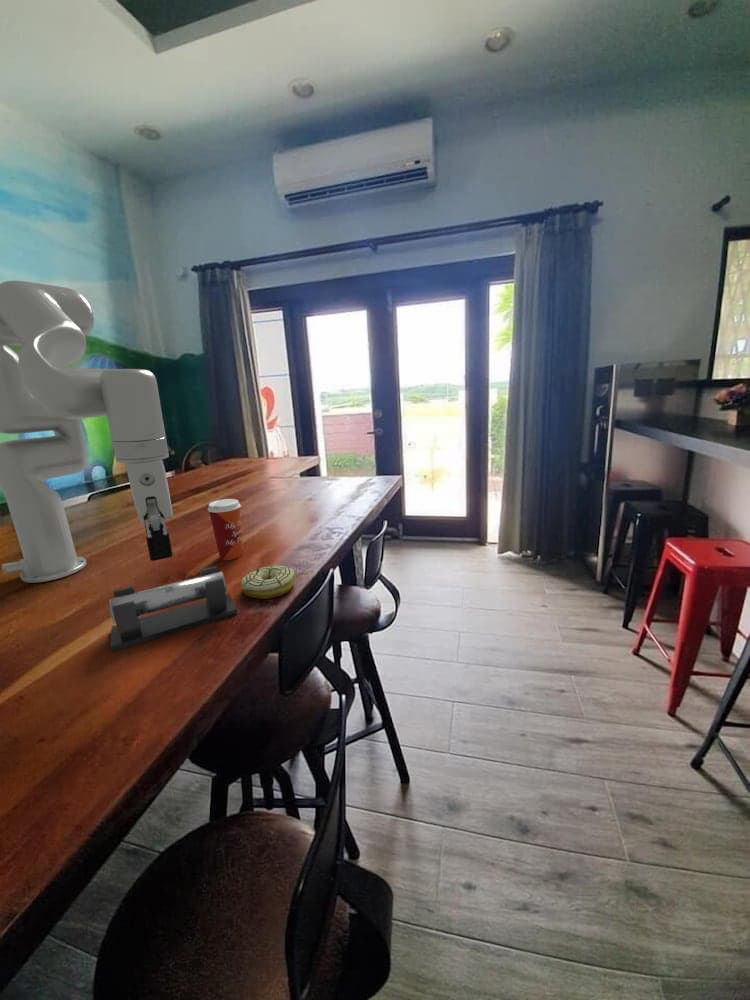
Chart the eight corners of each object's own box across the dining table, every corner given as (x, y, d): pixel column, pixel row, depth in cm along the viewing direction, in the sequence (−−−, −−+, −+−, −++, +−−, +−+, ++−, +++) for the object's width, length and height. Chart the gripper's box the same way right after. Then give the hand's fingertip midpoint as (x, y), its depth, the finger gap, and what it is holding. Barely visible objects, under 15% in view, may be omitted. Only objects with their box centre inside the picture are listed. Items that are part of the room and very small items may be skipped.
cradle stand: (111, 652, 66) (101, 611, 64) (113, 631, 72) (103, 593, 70) (237, 614, 75) (231, 577, 73) (229, 598, 81) (224, 564, 79)
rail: (114, 627, 67) (108, 606, 65) (114, 615, 70) (109, 595, 69) (227, 595, 75) (224, 576, 74) (223, 586, 79) (220, 567, 77)
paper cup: (237, 562, 98) (229, 507, 94) (209, 561, 100) (199, 506, 96) (253, 550, 105) (246, 498, 102) (226, 548, 107) (218, 497, 103)
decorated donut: (253, 578, 90) (251, 562, 89) (301, 577, 89) (299, 561, 88) (235, 602, 80) (232, 584, 79) (288, 601, 79) (286, 584, 78)
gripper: (172, 455, 60) (189, 561, 65) (163, 441, 74) (178, 529, 79) (112, 461, 56) (135, 573, 61) (115, 445, 70) (134, 536, 75)
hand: (159, 548), depth 70 cm, fingers open, 9 cm apart
